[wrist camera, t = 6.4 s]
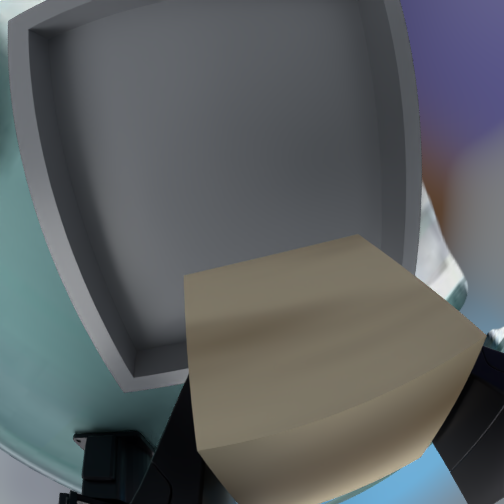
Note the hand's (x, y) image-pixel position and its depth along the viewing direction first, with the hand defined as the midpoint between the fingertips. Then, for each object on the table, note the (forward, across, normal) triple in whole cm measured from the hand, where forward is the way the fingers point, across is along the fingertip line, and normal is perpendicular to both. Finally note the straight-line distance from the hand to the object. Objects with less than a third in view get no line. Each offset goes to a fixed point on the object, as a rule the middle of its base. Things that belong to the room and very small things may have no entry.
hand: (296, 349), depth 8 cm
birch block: (+1, 0, 0) cm, 1 cm away
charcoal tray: (+7, 0, -4) cm, 8 cm away
